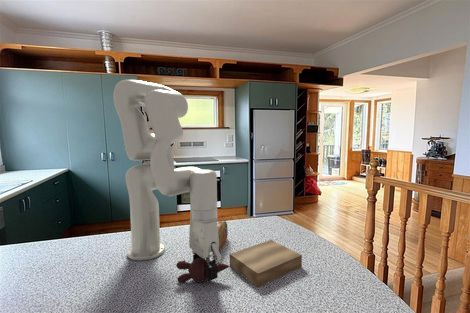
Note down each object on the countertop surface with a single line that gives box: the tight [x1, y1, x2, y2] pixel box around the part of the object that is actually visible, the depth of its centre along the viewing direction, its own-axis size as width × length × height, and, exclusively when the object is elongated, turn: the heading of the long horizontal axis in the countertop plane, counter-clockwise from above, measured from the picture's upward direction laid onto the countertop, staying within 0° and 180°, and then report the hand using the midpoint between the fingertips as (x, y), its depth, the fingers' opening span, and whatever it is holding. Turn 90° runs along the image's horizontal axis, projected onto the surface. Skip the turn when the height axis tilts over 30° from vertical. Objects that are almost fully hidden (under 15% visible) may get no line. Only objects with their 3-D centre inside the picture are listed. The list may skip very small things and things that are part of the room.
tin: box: [217, 220, 229, 253], centre depth 95 cm, size 15×3×8 cm, turn 168°
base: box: [229, 239, 303, 288], centre depth 80 cm, size 14×18×4 cm
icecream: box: [175, 257, 230, 284], centre depth 73 cm, size 7×7×15 cm
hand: (204, 272), depth 73 cm, fingers closed on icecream, 7 cm apart
